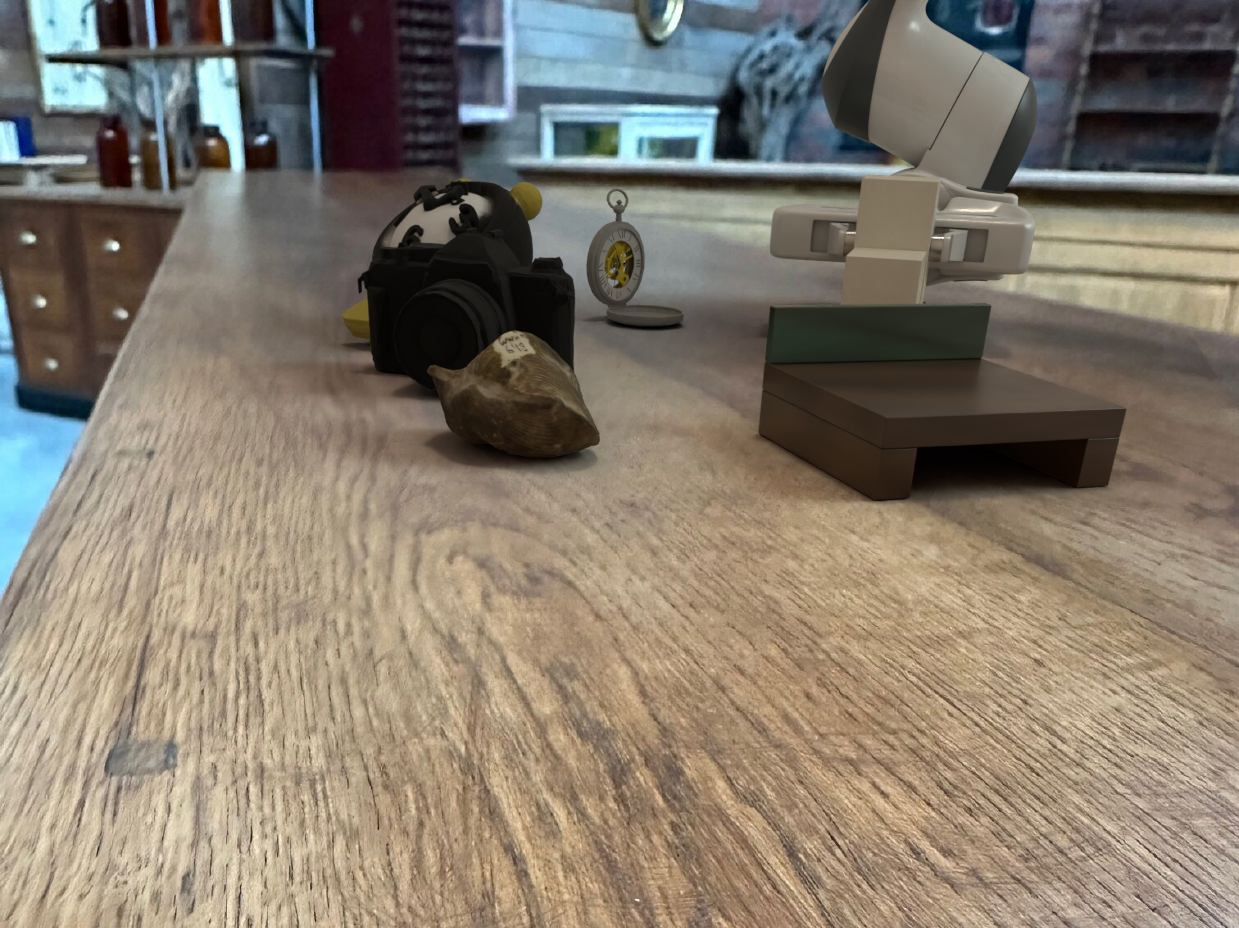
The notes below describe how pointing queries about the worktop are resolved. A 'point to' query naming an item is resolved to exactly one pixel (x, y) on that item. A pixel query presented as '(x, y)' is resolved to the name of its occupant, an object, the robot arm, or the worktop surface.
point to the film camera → (462, 303)
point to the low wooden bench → (918, 396)
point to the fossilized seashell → (517, 399)
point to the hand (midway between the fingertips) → (893, 246)
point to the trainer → (891, 240)
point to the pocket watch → (623, 273)
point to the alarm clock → (457, 225)
